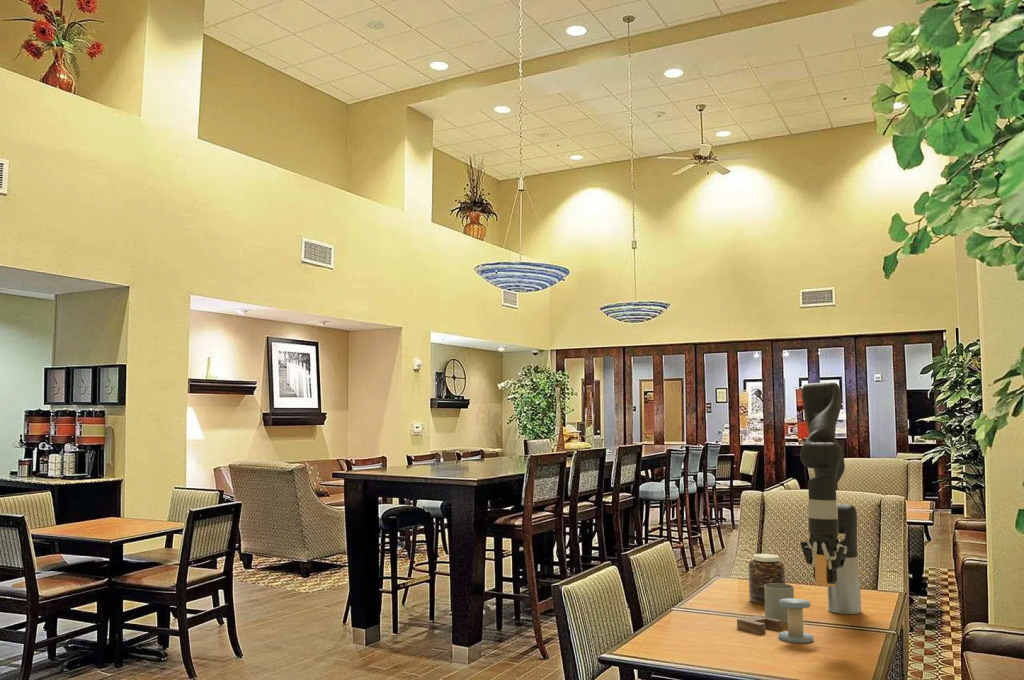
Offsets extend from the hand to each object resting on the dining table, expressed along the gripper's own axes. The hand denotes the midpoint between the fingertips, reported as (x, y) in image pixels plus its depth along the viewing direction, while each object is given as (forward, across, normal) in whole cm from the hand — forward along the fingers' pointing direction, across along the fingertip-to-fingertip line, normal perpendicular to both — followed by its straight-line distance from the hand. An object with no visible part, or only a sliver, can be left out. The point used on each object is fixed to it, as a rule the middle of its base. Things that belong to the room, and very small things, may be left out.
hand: (825, 582), depth 218 cm
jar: (+15, +46, -32) cm, 58 cm away
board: (+16, +22, 0) cm, 28 cm away
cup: (+16, +27, -14) cm, 34 cm away
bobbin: (+16, +9, +1) cm, 19 cm away
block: (+1, 0, 0) cm, 1 cm away
